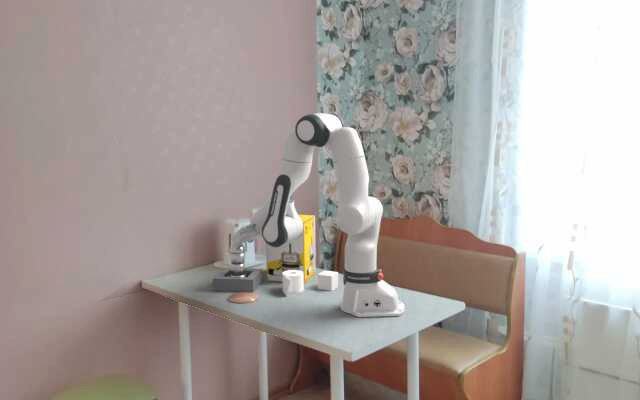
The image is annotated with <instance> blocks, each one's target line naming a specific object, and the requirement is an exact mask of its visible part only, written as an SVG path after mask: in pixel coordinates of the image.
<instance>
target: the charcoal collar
mask: <svg viewBox="0 0 640 400" xmlns="http://www.w3.org/2000/svg"><path fill="white" fill-rule="evenodd" d="M245 274H246V277H230V276H231V267H223V268H222V269H221V271H219V272H218V273H217V274H216V275H215V276H214V277H213V278H212V288H213V289H212V291H213V292H234V293H243V292H249V293H254V292H255V291H256V290H257V289H258V287H259V286H260V285H261V283H262V282H263V269H262V268H246V267H245Z"/></svg>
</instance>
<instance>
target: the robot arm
mask: <svg viewBox="0 0 640 400" xmlns="http://www.w3.org/2000/svg"><path fill="white" fill-rule="evenodd" d="M316 147H317V148H318V147H319V148H320V147H321V148H323V147H326V148H328V150H329V151H330V153H331V160H332V164H333V168H334V173H335V179H336V182H337V183H336V184H337V200H338V201H337V205H338V206H337V209H338V210H337V214H336V218H335V219H336V223H337V227H338V228H339V230H340V231H342V232H343V233H346V234H347V239H346V243H345V245H344V268H343V272H342V281H343V292H342V293H343V294H342V298H341V303H340V306H339V308H340V310H341V311H342V312H345V313H347V314H350V315H353V316H354V317H356V318H373V317H374V318H376V317H399V316H402V315H403V314H404V313H405V304H404V303H403V302H402V301H401V300H399V296H398V295H399V294H398V292H397V290H396V289H395V288H394V287H393V286H392V285H390V284H389V283H388V282H386V281H385V280H383V279H384V274H383V271H382V269H381V268H377V260H378V259H377V257H378V256H377V255H378V254H377V252H378V251H377V250H378V241H379V235H380V229H381V222H382V221H381V220H382V217H383V214H384V207H383V205H382V203H381V200H379V199H378V198H376V197H373V196H370V195H369V182H370V175H369V171H368V170H369V169H368V166H367V162H366V161H367V160H366V157H365V152H364V148H363V145H362V141H361V138H360V137H359V135H358V132H357V131H356V129H354V128H353V127H349V126H346V124H345V121H344V119H343V118H342V117H341V116H339V115H337V114H336V113H331V112H330V113H325V112H316V113H310V114H305V115H303V116H302V117H300V118H299V119H298V120H297V122H296V124H295V128H293V129H290V130H289V131H288V132H287V134H286V137H285V140H284V143H283V148H282V154H281V161H280V166H279V170H278V174H277V177H276V180H275V183H274V185H273V189H272V193H271V195H270V196H269V197H268V198H267V199H265V201H264V202H263V204H262V206H260V208H258V209H257V210H256V211H255V212H254V213H253V214H252V216H251V217H250V218H249V223H250V224H247V225H244V226H242V227H240V228H239V229H238V230H237V231H235V233H234V234H233V235H232V237H231V242H232V241H233V242H234V244H233V242H232V244H233V245H232V244H231V245H232V246H233V247H234V249H235V248H238V247H239V244H245V243H247V242H248V244H251V243H253V242H254V241H255V240H257V239H258V238H261V237H262V238H263V240H264V242H265V244H266V243H267V244H268V245H270V246H272V247H280V246H282V245H283V244H285V243H286V242H288V241H290V240H292V239H294V238H296V237H298V236H300V235H301V234H302V232H303V228H304V226H303V221H302V219H301V218H300V217H299V216H298V215H299V214H298V212H297V209H296V207H295V200H294V197H293V196H292V195H293V193H294V192H295V191H296V190H297V189H298V188H299V187H300V186H301V185H303V183H305V182H306V181H307V180H308V178H309V176H310V173H311V171H312V170H311V169H312V167H313V166H312V165H313V157H314V151H315V148H316Z"/></svg>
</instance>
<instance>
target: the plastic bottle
mask: <svg viewBox="0 0 640 400" xmlns="http://www.w3.org/2000/svg"><path fill="white" fill-rule="evenodd" d="M231 242H232V243H231V245H230V246H229V249H228V250H229V256H230V264H231V265H230V268H231V276H230V277H246V274H245V268H246V266H245V260H246V259H245V258H246V257H245V256H246V248H245V246H244V243H242V244H239V247H238V248H235V249H234V247H233V246H232V245H233V244H234V242H233V241H232V240H231Z"/></svg>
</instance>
